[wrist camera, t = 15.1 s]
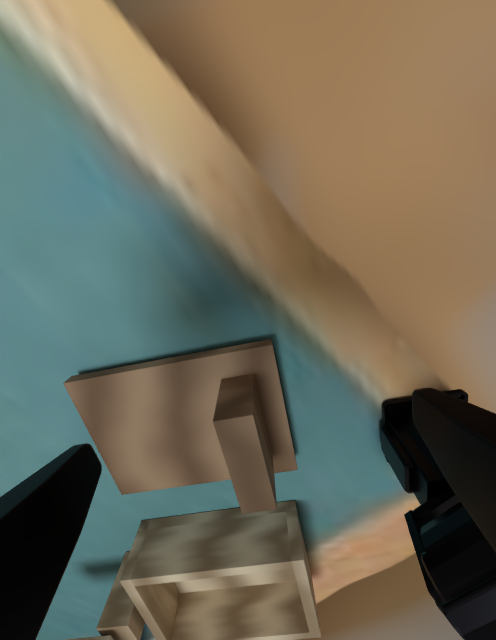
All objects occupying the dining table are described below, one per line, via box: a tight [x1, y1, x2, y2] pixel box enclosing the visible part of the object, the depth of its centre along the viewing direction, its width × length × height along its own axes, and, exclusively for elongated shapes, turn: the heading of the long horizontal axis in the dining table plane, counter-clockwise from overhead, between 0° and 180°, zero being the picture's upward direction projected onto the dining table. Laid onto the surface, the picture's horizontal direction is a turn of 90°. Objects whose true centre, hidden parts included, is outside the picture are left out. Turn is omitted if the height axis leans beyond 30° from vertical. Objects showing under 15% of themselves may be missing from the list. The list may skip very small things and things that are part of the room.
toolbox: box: [96, 500, 321, 640], centre depth 27 cm, size 20×12×6 cm, turn 102°
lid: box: [63, 339, 298, 514], centre depth 21 cm, size 16×12×6 cm
